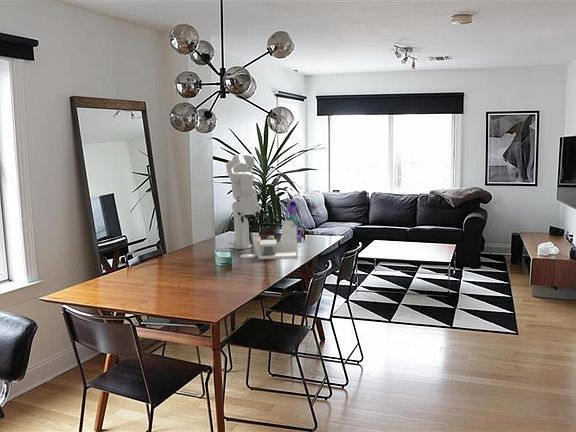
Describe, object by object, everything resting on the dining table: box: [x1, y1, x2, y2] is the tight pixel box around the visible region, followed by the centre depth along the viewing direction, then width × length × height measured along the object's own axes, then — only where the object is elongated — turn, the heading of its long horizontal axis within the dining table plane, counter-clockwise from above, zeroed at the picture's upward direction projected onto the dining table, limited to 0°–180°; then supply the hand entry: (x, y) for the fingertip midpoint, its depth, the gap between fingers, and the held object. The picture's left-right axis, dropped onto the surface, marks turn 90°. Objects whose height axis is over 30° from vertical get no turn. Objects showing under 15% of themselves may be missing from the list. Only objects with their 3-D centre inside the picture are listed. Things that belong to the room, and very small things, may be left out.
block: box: [263, 246, 274, 256], centre depth 351 cm, size 5×5×7 cm
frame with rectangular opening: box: [257, 241, 299, 260], centre depth 351 cm, size 24×15×7 cm, turn 90°
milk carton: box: [280, 219, 298, 242], centre depth 370 cm, size 7×7×19 cm
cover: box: [257, 236, 278, 248], centre depth 351 cm, size 11×15×3 cm
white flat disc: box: [240, 253, 256, 260], centre depth 352 cm, size 9×9×1 cm
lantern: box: [285, 198, 303, 243], centre depth 397 cm, size 13×12×30 cm
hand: (248, 222), depth 349 cm, fingers open, 6 cm apart
